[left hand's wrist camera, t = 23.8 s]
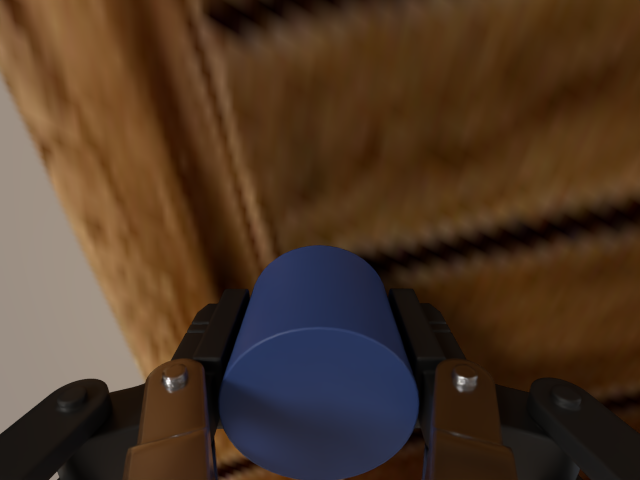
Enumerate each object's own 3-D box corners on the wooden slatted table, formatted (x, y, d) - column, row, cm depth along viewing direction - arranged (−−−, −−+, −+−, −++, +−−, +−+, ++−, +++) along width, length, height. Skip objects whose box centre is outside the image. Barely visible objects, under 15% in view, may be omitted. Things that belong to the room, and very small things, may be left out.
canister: (223, 306, 13) (175, 411, 9) (320, 216, 12) (320, 286, 7) (318, 382, 14) (317, 507, 10) (414, 308, 13) (461, 413, 9)
